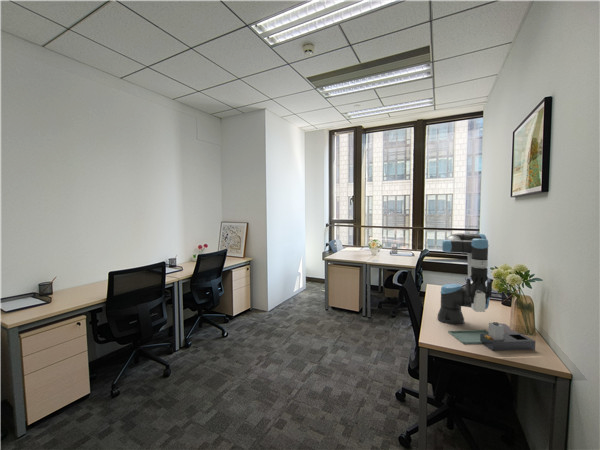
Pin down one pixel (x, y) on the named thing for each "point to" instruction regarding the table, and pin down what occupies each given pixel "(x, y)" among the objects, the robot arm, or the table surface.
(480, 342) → the tray
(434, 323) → the table surface
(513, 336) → the strip
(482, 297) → the plug
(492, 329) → the twin plug
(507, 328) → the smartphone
